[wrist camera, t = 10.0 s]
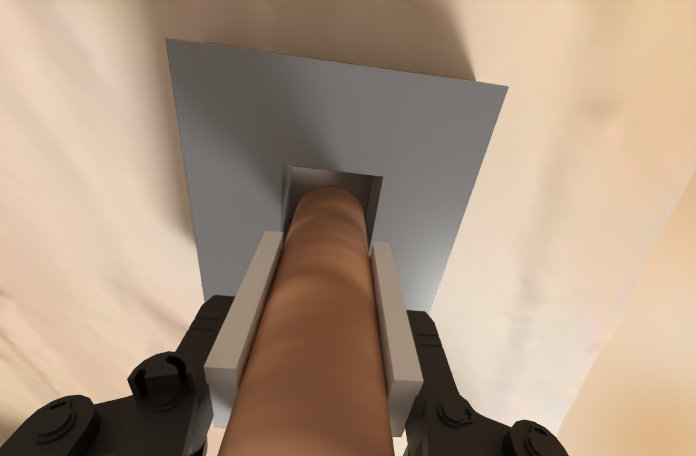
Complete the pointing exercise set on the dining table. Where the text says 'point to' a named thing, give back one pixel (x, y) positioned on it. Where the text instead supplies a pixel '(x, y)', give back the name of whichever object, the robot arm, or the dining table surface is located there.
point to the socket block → (325, 153)
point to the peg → (316, 345)
